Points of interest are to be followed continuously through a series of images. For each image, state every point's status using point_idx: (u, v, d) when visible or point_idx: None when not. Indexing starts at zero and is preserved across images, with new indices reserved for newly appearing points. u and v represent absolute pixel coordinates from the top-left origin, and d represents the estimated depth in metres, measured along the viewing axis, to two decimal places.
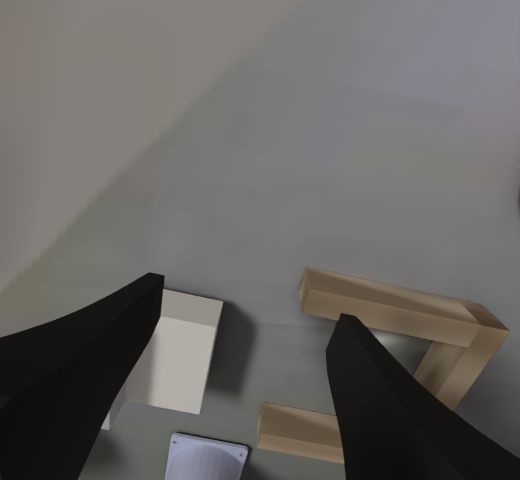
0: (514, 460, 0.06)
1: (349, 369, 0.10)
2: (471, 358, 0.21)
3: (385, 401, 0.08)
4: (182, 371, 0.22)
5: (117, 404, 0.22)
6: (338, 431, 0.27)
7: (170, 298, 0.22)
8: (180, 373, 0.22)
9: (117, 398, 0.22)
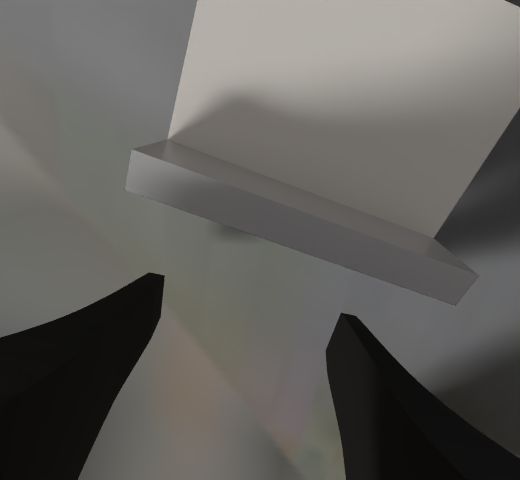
0: (514, 460, 0.06)
1: (349, 369, 0.10)
2: None
3: (385, 401, 0.08)
4: (376, 43, 0.08)
5: (418, 241, 0.09)
6: None
7: None
8: (383, 53, 0.08)
9: (397, 234, 0.08)
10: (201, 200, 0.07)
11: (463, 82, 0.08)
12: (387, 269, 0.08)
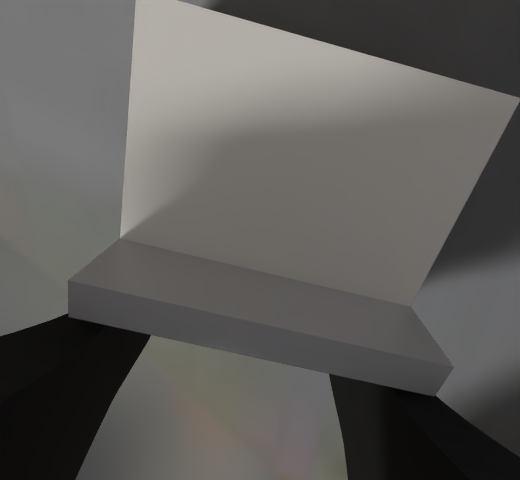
0: (517, 461, 0.06)
1: None
2: None
3: (387, 402, 0.08)
4: (317, 130, 0.07)
5: (389, 323, 0.08)
6: None
7: None
8: (326, 138, 0.07)
9: (365, 319, 0.08)
10: (148, 320, 0.07)
11: (415, 157, 0.08)
12: (354, 368, 0.07)
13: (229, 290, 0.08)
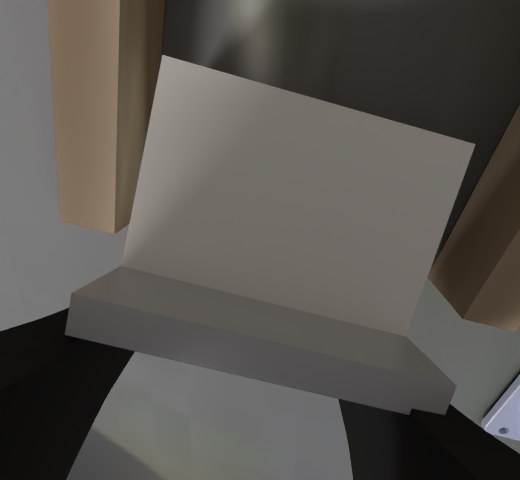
0: None
1: None
2: None
3: None
4: (309, 166, 0.08)
5: (388, 348, 0.08)
6: None
7: None
8: (318, 174, 0.09)
9: (364, 342, 0.08)
10: (148, 337, 0.07)
11: (396, 191, 0.09)
12: (358, 389, 0.07)
13: (229, 311, 0.08)
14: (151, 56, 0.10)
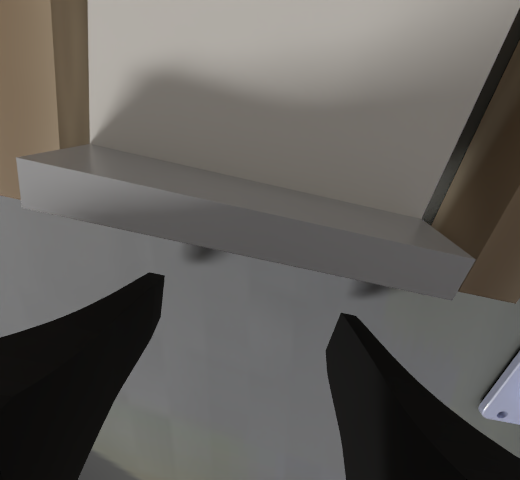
0: (514, 460, 0.06)
1: (349, 369, 0.10)
2: None
3: (385, 401, 0.08)
4: None
5: (398, 225, 0.07)
6: None
7: None
8: (319, 0, 0.06)
9: (369, 219, 0.07)
10: (112, 208, 0.06)
11: (426, 21, 0.06)
12: (357, 265, 0.06)
13: (210, 185, 0.07)
14: None
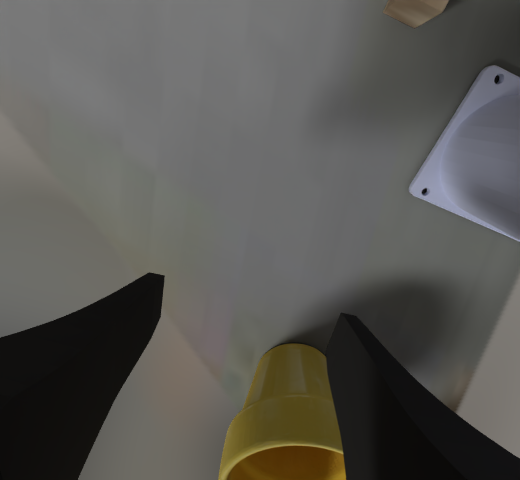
0: (514, 460, 0.06)
1: (349, 369, 0.10)
2: None
3: (385, 401, 0.08)
4: None
5: None
6: None
7: None
8: None
9: None
10: None
11: None
12: None
13: None
14: None
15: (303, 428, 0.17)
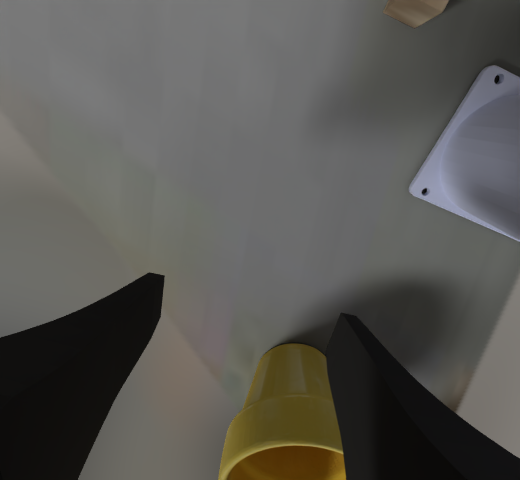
0: (514, 460, 0.06)
1: (349, 369, 0.10)
2: None
3: (385, 401, 0.08)
4: None
5: None
6: None
7: None
8: None
9: None
10: None
11: None
12: None
13: None
14: None
15: (303, 428, 0.17)
